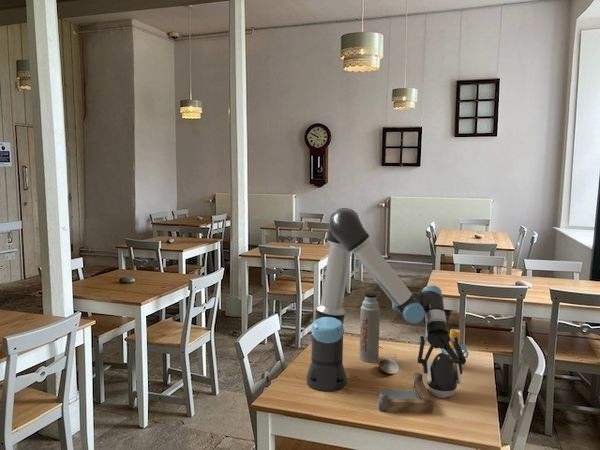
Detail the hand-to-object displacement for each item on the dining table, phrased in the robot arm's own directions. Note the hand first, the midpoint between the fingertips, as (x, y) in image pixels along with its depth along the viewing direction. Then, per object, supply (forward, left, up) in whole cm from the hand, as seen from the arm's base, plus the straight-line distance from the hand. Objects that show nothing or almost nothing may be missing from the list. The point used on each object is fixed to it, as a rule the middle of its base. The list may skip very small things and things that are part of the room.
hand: (444, 382), depth 174 cm
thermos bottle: (-23, +35, -6) cm, 42 cm away
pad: (-16, -2, -6) cm, 17 cm away
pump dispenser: (0, +3, -6) cm, 7 cm away
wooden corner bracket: (-15, -1, -6) cm, 16 cm away
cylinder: (+11, +30, -6) cm, 33 cm away
